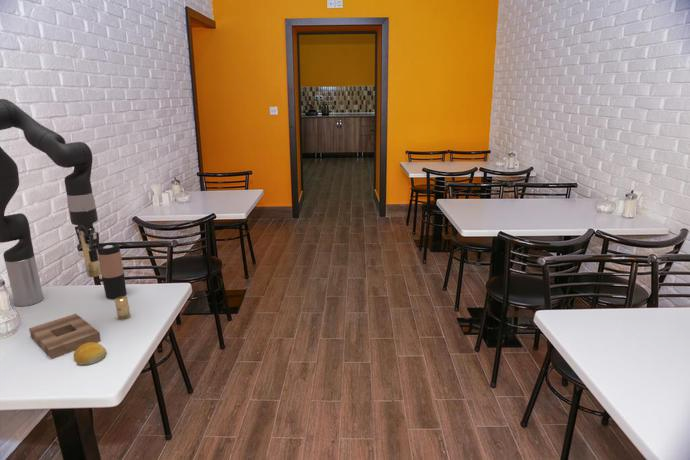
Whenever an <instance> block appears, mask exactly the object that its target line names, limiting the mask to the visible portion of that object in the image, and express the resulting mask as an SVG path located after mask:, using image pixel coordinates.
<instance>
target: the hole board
mask: <svg viewBox="0 0 690 460" xmlns="http://www.w3.org/2000/svg"><path fill="white" fill-rule="evenodd" d="M28 329H29V335H30V338H31V339H32V340H33V341H34V342H35V343H36V344H37V346H39V348H41V350H42V351H43V352H44V353H46V355H47V357H49V358H50V359H51V360H53V359H55V358H59V357H60V356H63V355H66V354H68V353H72V352H75V351H76V349H77V348H78V347H80V346H81V345H83V344H85V343H89V342H95V343H99V342H101V335H100V332H99V331H98V330H97V329H96V328H94V327H93V326H92V325H91V324H90V323H89V322H87V321H86V320H84V319H83V317H81V316H80V315H79V314H77V313H73V314H70V315H67V316H63V317H60V318H58V319H55V320H52V321H48V322H45V323H42V324H39V325H35V326H32V327H30V328H28Z"/></svg>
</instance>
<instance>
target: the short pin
mask: <svg viewBox="0 0 690 460" xmlns="http://www.w3.org/2000/svg"><path fill="white" fill-rule="evenodd" d="M114 304H115V309H116V317H117V320H118V321H125V320H127V319H129V318H131V312H130V311H131V310H130V306H129V305H130V304H129V299H128V296H127V295H125V296H121V297H117V298H115V299H114Z"/></svg>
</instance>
